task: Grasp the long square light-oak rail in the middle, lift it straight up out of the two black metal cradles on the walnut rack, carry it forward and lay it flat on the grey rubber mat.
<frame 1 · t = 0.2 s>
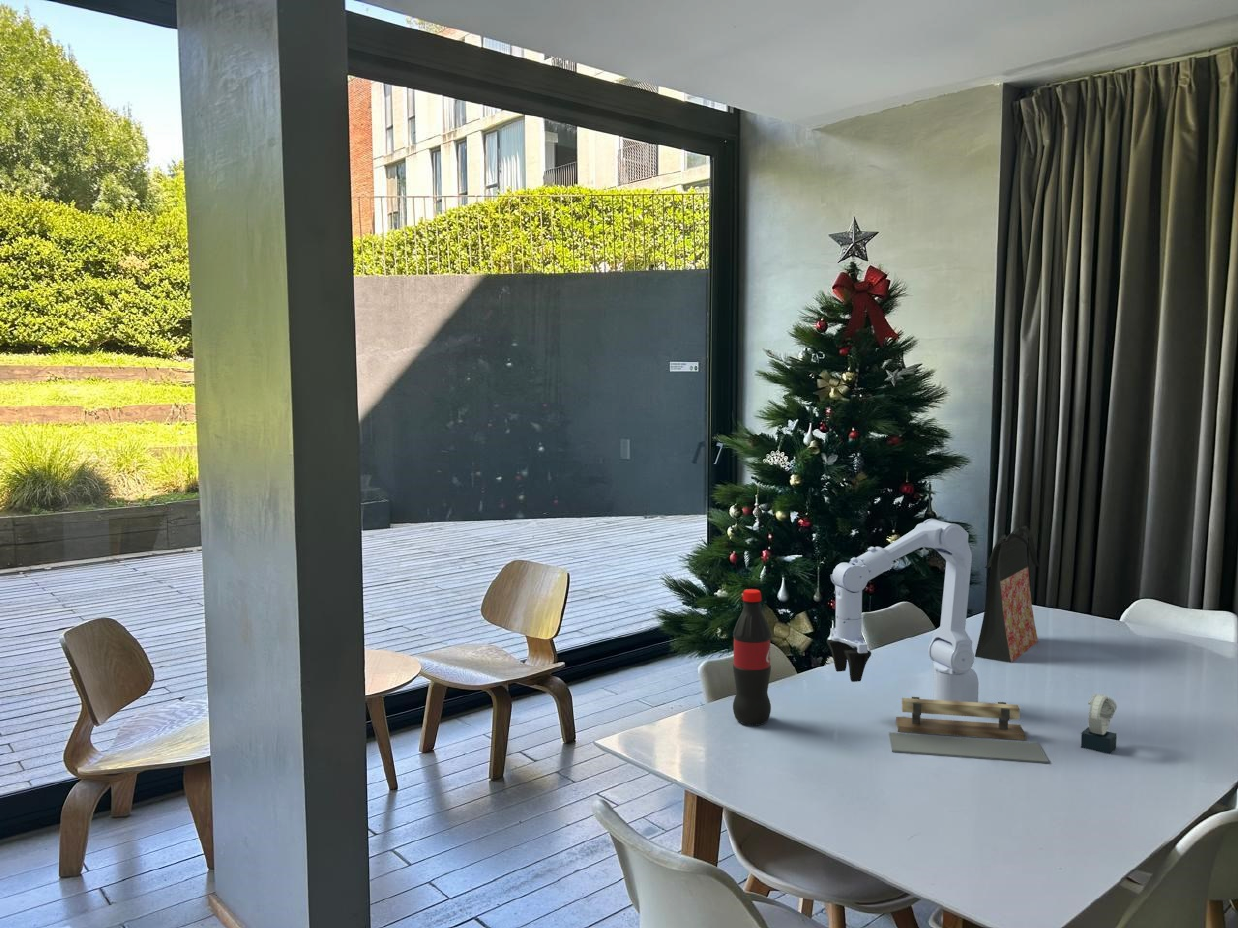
hand: (848, 675, 213), 10 cm above the table, tool pointing down, fingers open, 7 cm apart
rail: (959, 713, 205), point 4 cm above the table, touching rack
rack: (959, 730, 206), on the table
gift bag: (1011, 648, 269), on the table
cola bottle: (751, 721, 213), on the table
watch: (1098, 748, 196), on the table
mat: (965, 748, 196), on the table
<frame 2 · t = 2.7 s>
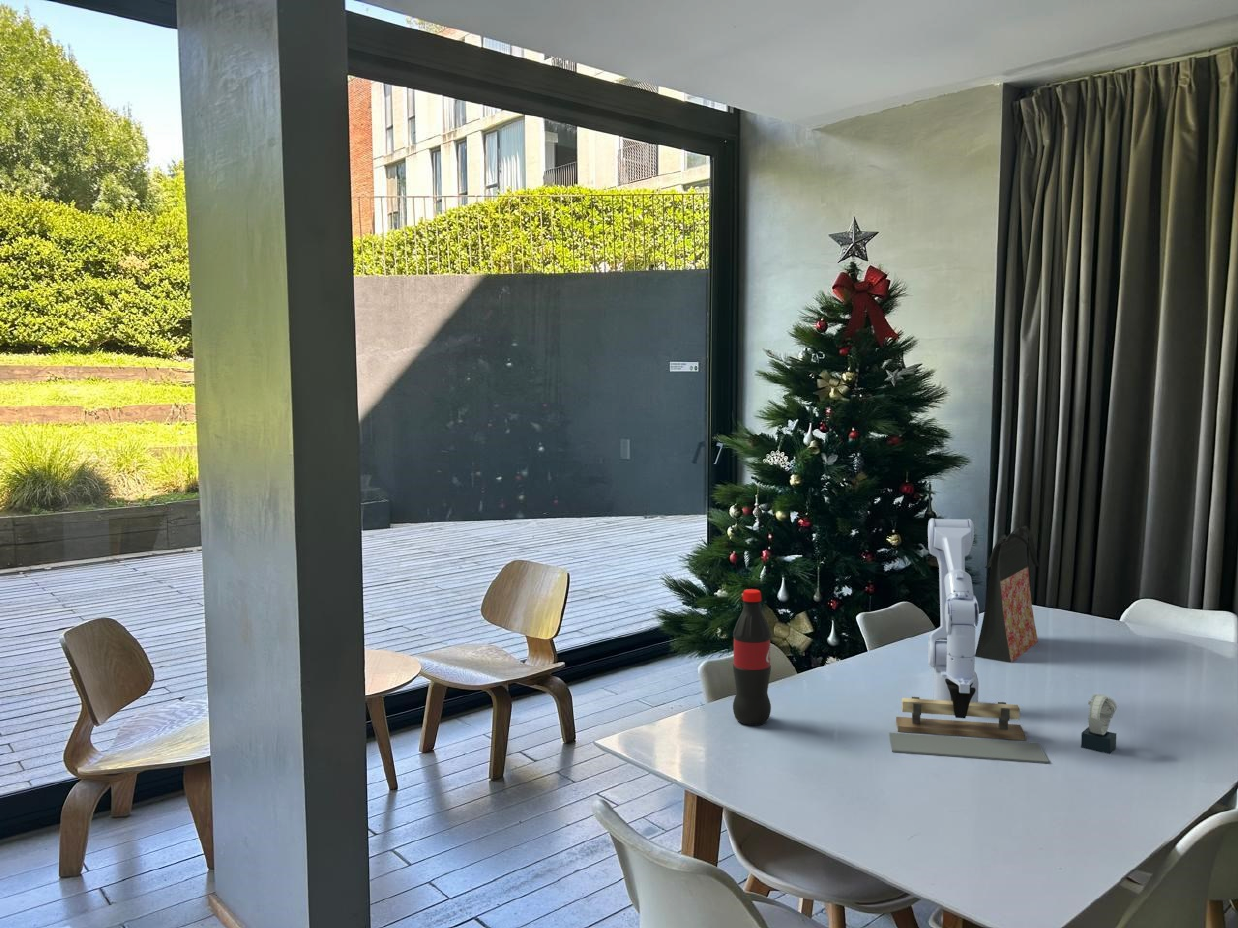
hand: (959, 715, 205), 4 cm above the table, tool pointing down, fingers closed on rail, 2 cm apart
rail: (959, 713, 205), point 4 cm above the table, touching gripper, rack
everything else where it was.
when the fingers open (2 cm above the table, at t = 7.0 s): rail stays where it is, resting on mat.
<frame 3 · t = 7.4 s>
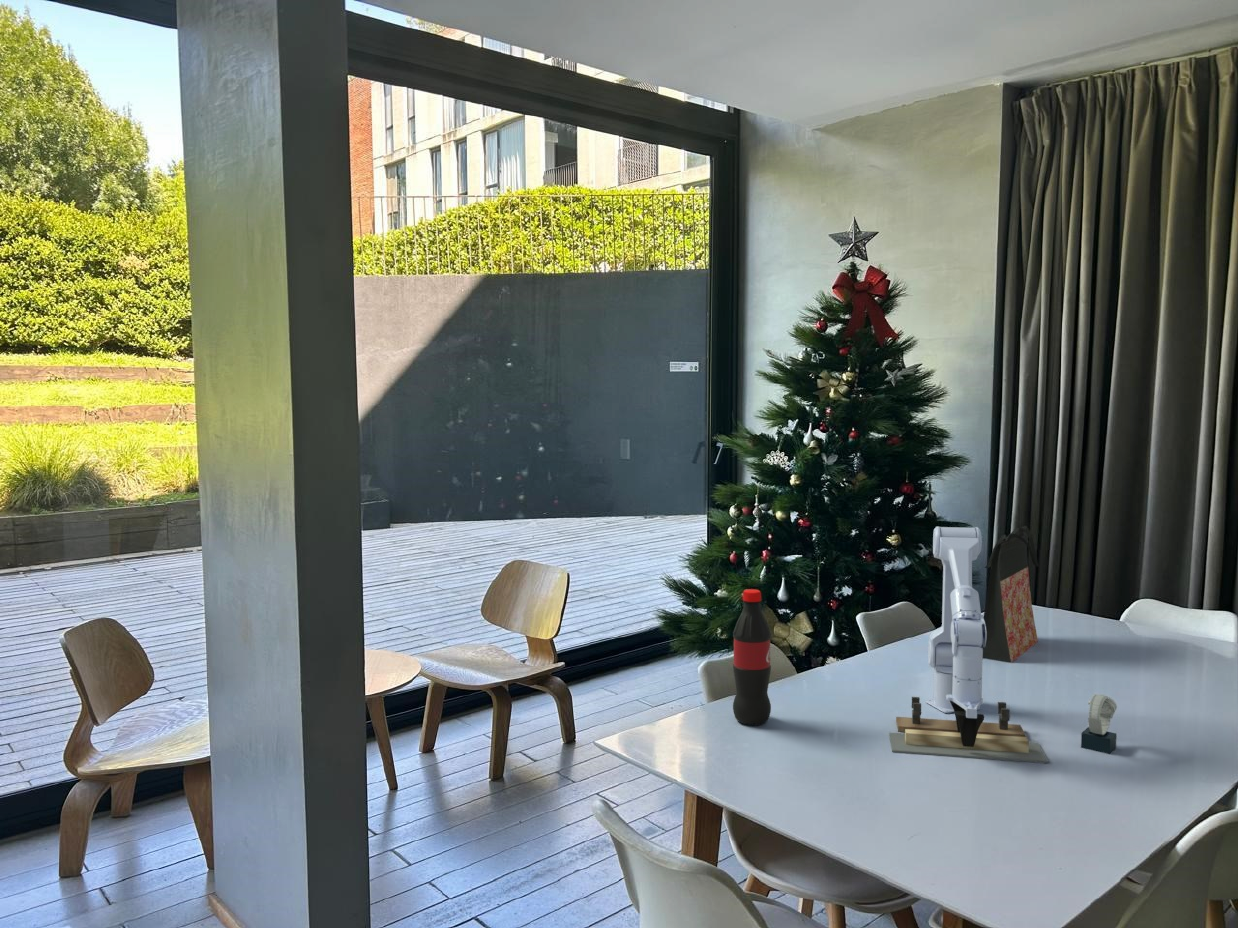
hand: (965, 740, 196), 2 cm above the table, tool pointing down, fingers open, 6 cm apart
rail: (965, 746, 196), resting on mat
everything else where it was.
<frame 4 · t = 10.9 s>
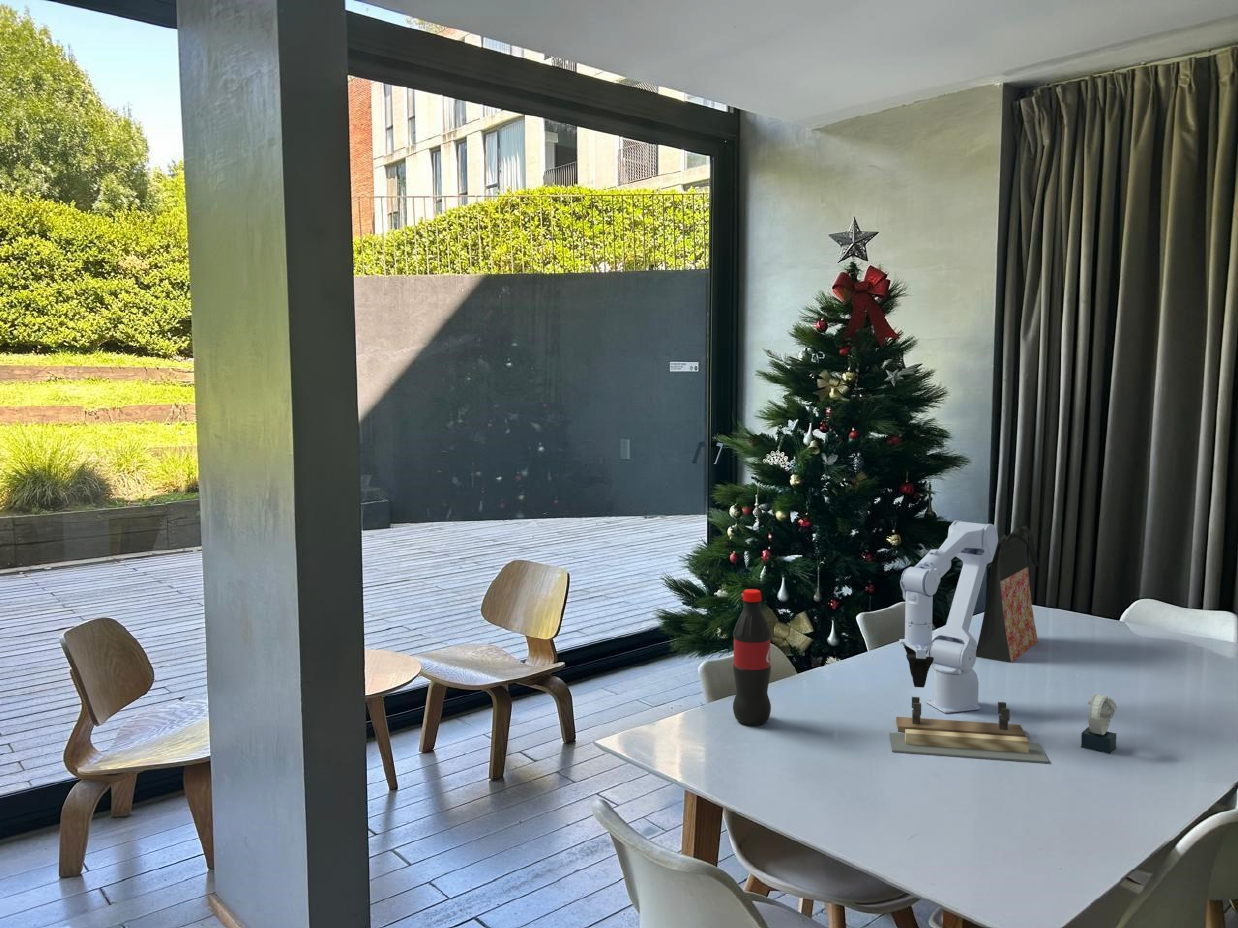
hand: (917, 681, 210), 9 cm above the table, tool pointing down, fingers open, 7 cm apart
nothing on the table moved.
at the end: rail inside the target area on the mat (0.1 cm from its centre), point 0.4 cm above the mat's base; rail tilted 0°; the gripper is holding nothing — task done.
